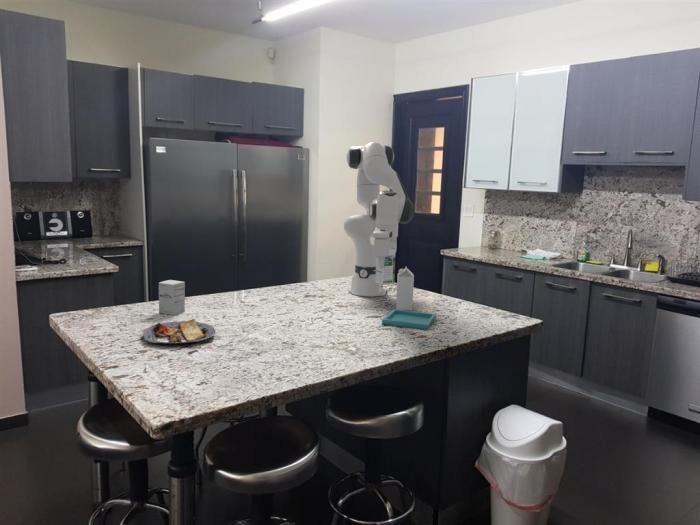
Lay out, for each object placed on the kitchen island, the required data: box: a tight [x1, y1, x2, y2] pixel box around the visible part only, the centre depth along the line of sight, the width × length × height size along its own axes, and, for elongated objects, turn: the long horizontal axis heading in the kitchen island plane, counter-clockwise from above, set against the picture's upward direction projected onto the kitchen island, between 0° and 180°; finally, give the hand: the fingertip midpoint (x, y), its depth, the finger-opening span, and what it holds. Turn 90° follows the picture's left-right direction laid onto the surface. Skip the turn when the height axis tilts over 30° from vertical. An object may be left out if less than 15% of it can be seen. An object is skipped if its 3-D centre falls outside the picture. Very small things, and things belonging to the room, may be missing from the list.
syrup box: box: [376, 248, 396, 286], centre depth 214 cm, size 6×6×14 cm
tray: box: [381, 308, 437, 331], centre depth 214 cm, size 18×18×2 cm
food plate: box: [142, 318, 216, 345], centre depth 185 cm, size 25×23×4 cm
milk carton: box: [395, 267, 415, 311], centre depth 234 cm, size 7×7×19 cm
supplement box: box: [158, 279, 186, 316], centre depth 214 cm, size 7×7×13 cm
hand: (385, 266), depth 214 cm, fingers closed on syrup box, 8 cm apart
